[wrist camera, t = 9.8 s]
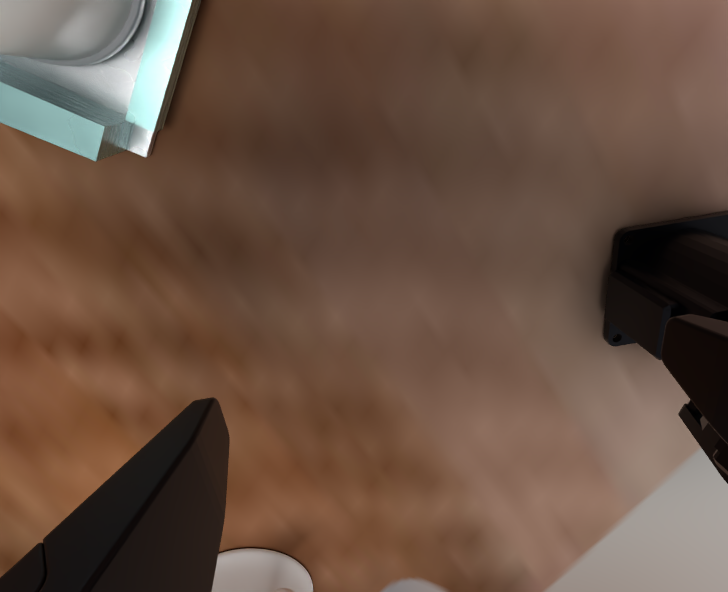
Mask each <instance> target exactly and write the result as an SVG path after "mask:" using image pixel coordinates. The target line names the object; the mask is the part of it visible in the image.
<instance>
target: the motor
mask: <svg viewBox="0 0 728 592" xmlns="http://www.w3.org/2000/svg"><path fill="white" fill-rule="evenodd" d="M200 2H201V0H145V7H144V11H143V16H142V19H141V21H140V24H139V26H138V28H137V30H136V32H135V34H134V35H133V37H132V38H131V39H130V40H129V42H128V43H127V44H126V45H125V46H124V47H123V48H122V49H121V50H120V51H119V52H118V53H116V54H115V55H113V56H112V57H110V58H108V59H106V60H104V61H102V62H99V63H96V64H92V65H87V66H59V65H52V64H46V63H42V62H38V61H35V60H32V59H29V58H27V57H19V56H10V55H0V122H1V123H3V124H6V125H8V126H11V127H13V128H15V129H18V130H20V131H23V132H25V133H28V134H30V135H33V136H35V137H38V138H40V139H42V140H45V141H47V142H50V143H52V144H55V145H57V146H60V147H62V148H64V149H67V150H69V151H72V152H74V153H77V154H79V155H82V156H84V157H87V158H89V159H91V160H94V161H98V160H101V159H104V158H106V157H109V156H112V155H115V154H117V153H120V152H123V151H125V150H129V151H132V152H134V153H136V154H139V155H141V156H144V157H148V156H150V155H151V152H152V148H153V145H154V142H155V138H156V135H157V131H159V130H162V129H163V127H164V124H165V120H166V117H167V114H168V110H169V107H170V104H171V100H172V97H173V93H174V90H175V87H176V83H177V80H178V77H179V73H180V70H181V66H182V63H183V60H184V56H185V53H186V50H187V46H188V43H189V39H190V36H191V33H192V29H193V26H194V23H195V19H196V16H197V12H198V9H199V6H200Z"/></svg>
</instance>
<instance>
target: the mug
mask: <svg viewBox="0 0 728 592" xmlns="http://www.w3.org/2000/svg"><path fill="white" fill-rule="evenodd" d="M212 592H313V584H312V580H311V577H310V575H309V573H308V572H307V570H306V569H305V568H304V567H303V566H302V565H301V564H300V563H299V562H297V561H296V560H295V559H293V558H291V557H289V556H287V555H285V554H282V553H279V552H276V551H272V550H266V549H257V548H246V549H236V550H230V551H226V552H223V553H219V554H218V559H217V564H216V570H215V575H214V581H213V586H212Z"/></svg>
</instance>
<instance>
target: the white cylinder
mask: <svg viewBox="0 0 728 592" xmlns="http://www.w3.org/2000/svg"><path fill="white" fill-rule="evenodd" d="M144 7H145V0H0V55H10V56H19V57H27V58H29V59H32V60H35V61H38V62H42V63H46V64H52V65H59V66H87V65H92V64H96V63H99V62H102V61H104V60H106V59H108V58H110V57H112V56H113V55H115V54H116V53H118V52H119V51H120V50H121V49H122V48H123V47H124V46H125V45H126V44H127V43H128V42H129V40H130V39H131V38H132V37H133V35H134V34H135V32H136V30H137V28H138V26H139V24H140V21H141V19H142V16H143V11H144Z"/></svg>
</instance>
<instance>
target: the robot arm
mask: <svg viewBox="0 0 728 592" xmlns="http://www.w3.org/2000/svg"><path fill="white" fill-rule="evenodd" d="M627 236H629V239H628V241H627V242H625V243H624V240H625V238H626V237H627ZM605 318H606V321H605V330H604V339H605V341H606V342H607V343H608V344H610V345H611V346H620V345H626V344H631V343H638V344H639V345H640V346H641V347H643V348H644V349H645V350H647V351H648V352H649V353H650V354H652V355H653V356H654V357H655V358H657V359H659V360H662V361H663V363H664V365H665V366H666V368H667V369H668V370H669V372H670V373H671V374H672V376H673V377H674V378H675V380H676V381H677V382H678V384H679V385H680V386H681V387H682V389H683V390H684V391H685V393H686V394H687V395H688V397H689V398H690V401H689V403H688V404H684V406H683V407H682V409H681V410H680V412H679V413H678V415H679V416H680V418H681V419H682V421H683V422H684V423H685V425H686V426H687V428H688V429H689V431H690V432H691V433H692V435H693V436H694V438H695V439H696V441H697V442H698V443H699V445H700V446H701V448H702V449H703V450H704V452H705V453H706V455H707V456H708V457H709V459H710V460H711V462H712V463H713V465H714V466H715V467H716V469H717V470H718V472H719V473H720V475H721V476H722V477H723V479H724V480H725V481H726V482H727V483H728V212H721V213H715V214H709V215H703V216H697V217H691V218H684V219H678V220H672V221H666V222H660V223H654V224H648V225H641V226H635V227H629V228H624V229H621V230H620V231H619V232H618V233H617V234H616V236H615V239H614V248H613V257H612V266H611V273H610V275H609V282H608V291H607V300H606V309H605ZM616 334H617V336H616V337H615V338H613V337H614V336H615V335H616ZM228 458H229V433H228V429H227V426H226V423H225V420H224V417H223V414H222V410H221V407H220V404H219V402H218V400H217V399H216V398H206V399H201V400H195V401H193V402H192V403H191V404H190V405H189V406H187V407H186V408H185V409H184V410H183V411H182V412H181V413H180V414H179V415H178V416H177V417H175V418H174V419H173V420H172V421H171V422H170V423H169V424H168V425H167V426H166V427H165V428H164V429H162V430H161V431H160V432H159V433H158V434H157V435H156V436H155V437H154V438H153V439H152V440H150V441H149V442H148V443H147V444H146V445H145V446H144V447H143V448H142V449H141V450H140V451H138V452H137V453H136V454H135V455H134V456H133V457H132V458H131V459H130V460H129V461H128V462H126V463H125V464H124V465H123V466H122V467H121V468H120V469H119V470H118V471H117V472H116V473H115V474H113V475H112V476H111V477H110V478H109V479H108V480H107V481H106V482H105V483H104V484H103V485H101V486H100V487H99V488H98V489H97V490H96V491H95V492H94V493H93V494H92V495H91V496H89V497H88V498H87V499H86V500H85V501H84V502H83V503H82V504H81V505H80V506H79V507H77V508H76V509H75V510H74V511H73V512H72V513H71V514H70V515H69V516H68V517H67V518H65V519H64V520H63V521H62V522H61V523H60V524H59V525H58V526H57V527H56V528H55V529H53V530H52V531H51V532H50V533H49V534H48V535H47V536H46V537H45V538H44V539H43V543H38V544H37V545H36V546H35V547H34V548H33V549H32V550H30V551H29V552H28V553H27V554H26V555H25V556H24V557H23V558H22V559H21V560H20V561H18V562H17V563H16V564H15V565H14V566H13V567H12V568H11V569H10V570H8V571H7V572H6V573H5V574H4V575H3V576H2V577H1V578H0V592H212V586H213V581H214V575H215V570H216V564H217V559H218V553H219V547H220V542H221V536H222V531H223V524H224V518H225V507H226V491H227V475H228Z"/></svg>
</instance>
